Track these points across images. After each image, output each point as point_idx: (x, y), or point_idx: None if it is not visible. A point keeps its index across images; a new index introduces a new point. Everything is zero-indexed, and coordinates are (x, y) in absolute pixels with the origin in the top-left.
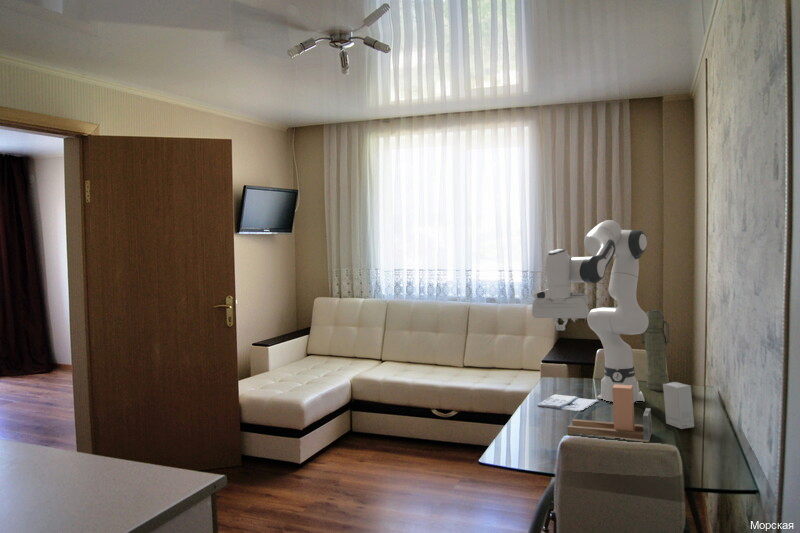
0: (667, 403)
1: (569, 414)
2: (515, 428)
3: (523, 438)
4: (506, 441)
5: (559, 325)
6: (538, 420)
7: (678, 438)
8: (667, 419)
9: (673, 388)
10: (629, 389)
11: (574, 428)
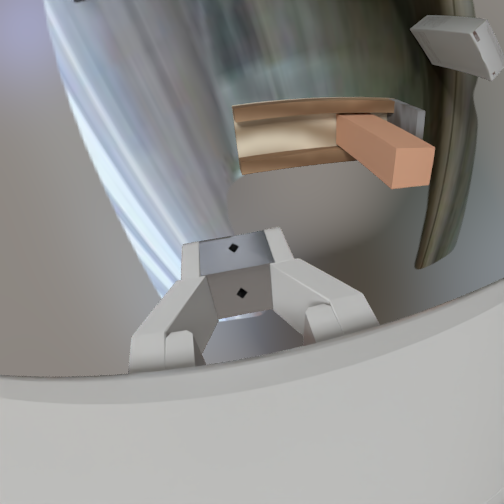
0: (444, 41)
1: (183, 14)
2: (119, 188)
3: (170, 233)
4: (153, 260)
5: (232, 304)
6: (130, 104)
7: (428, 117)
8: (418, 35)
9: (483, 68)
10: (424, 183)
11: (258, 171)
